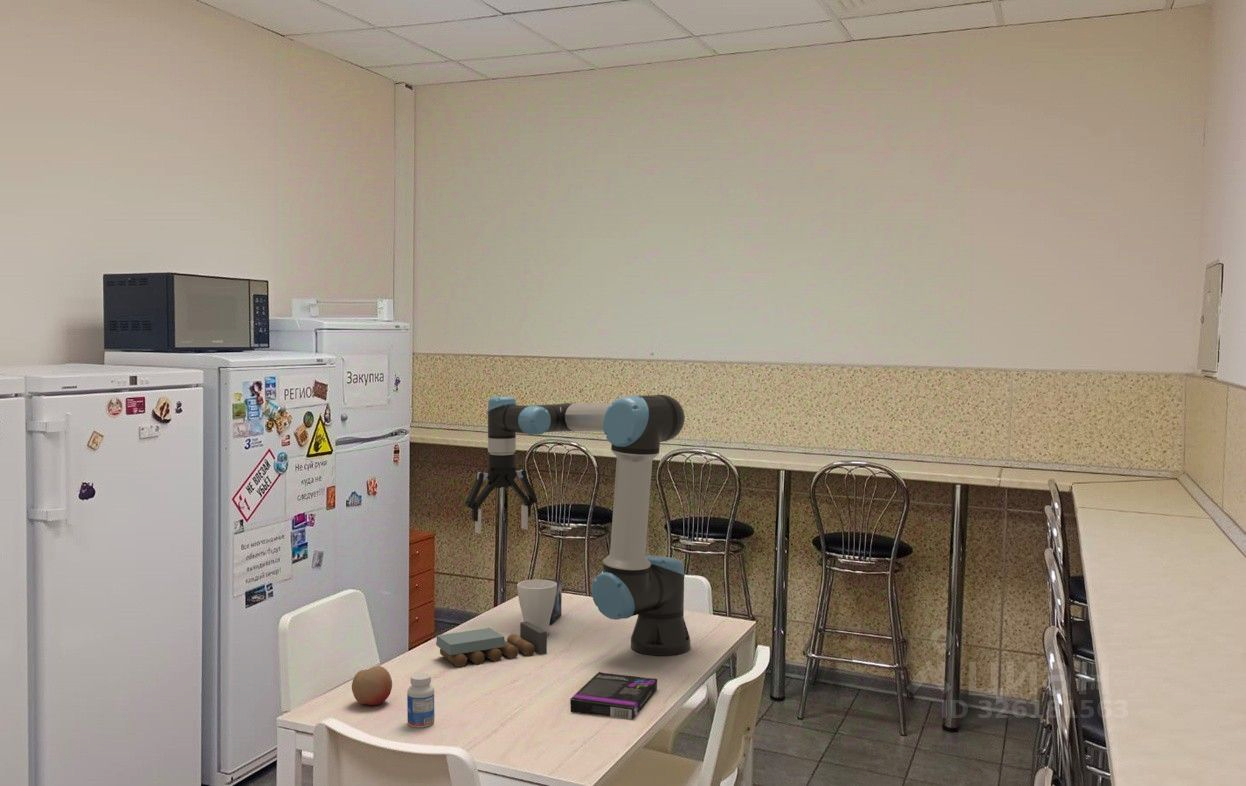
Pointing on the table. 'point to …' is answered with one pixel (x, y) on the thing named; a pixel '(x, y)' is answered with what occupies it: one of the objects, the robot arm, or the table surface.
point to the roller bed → (493, 652)
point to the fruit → (372, 686)
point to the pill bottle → (420, 701)
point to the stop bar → (534, 636)
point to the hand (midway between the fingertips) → (501, 531)
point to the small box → (556, 601)
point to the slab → (470, 641)
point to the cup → (537, 601)
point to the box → (613, 695)
